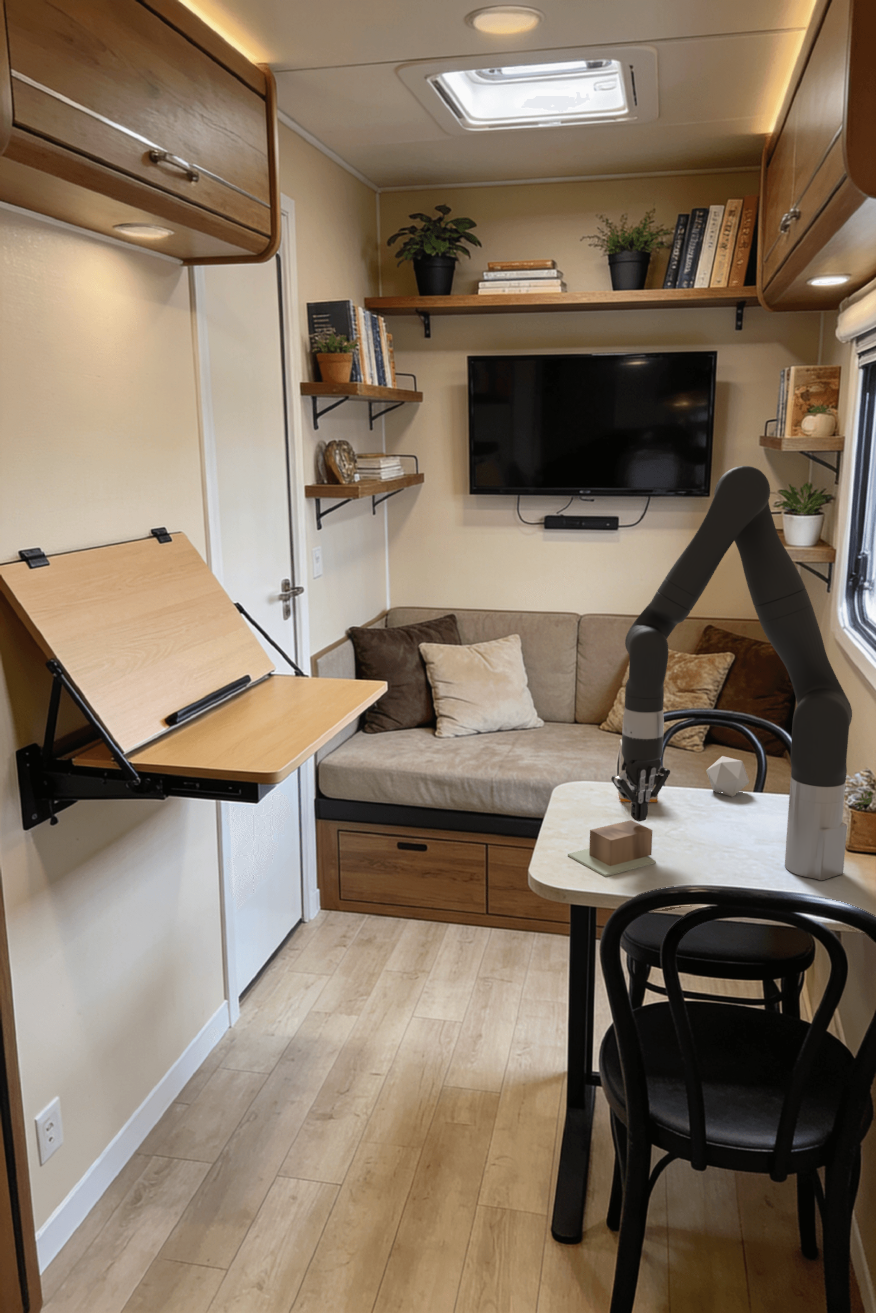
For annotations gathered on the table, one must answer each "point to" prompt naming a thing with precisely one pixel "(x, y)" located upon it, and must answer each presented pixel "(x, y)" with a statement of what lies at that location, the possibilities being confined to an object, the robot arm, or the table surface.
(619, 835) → the walnut block
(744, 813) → the table surface
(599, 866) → the mat
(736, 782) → the die
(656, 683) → the robot arm
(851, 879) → the table surface
